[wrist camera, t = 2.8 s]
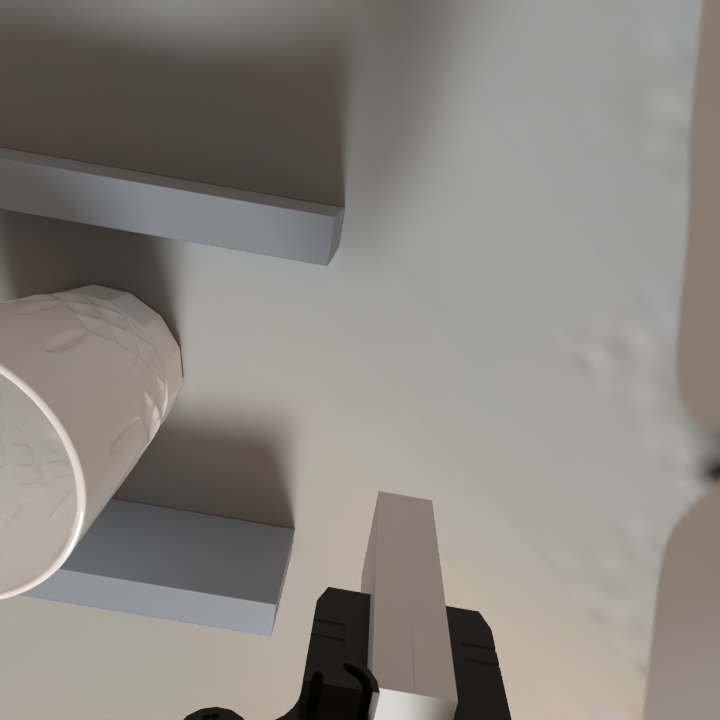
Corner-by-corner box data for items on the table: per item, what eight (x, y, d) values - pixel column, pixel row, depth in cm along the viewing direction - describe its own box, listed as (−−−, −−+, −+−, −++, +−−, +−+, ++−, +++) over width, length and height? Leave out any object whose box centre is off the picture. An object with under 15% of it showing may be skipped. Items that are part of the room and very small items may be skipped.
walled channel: (-52, 499, 27) (-143, 568, 23) (-70, 134, 22) (-192, 124, 18) (290, 556, 28) (271, 636, 23) (344, 208, 23) (335, 217, 18)
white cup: (234, 350, 25) (141, 462, 15) (134, 479, 27) (-4, 649, 17) (73, 229, 23) (-140, 268, 14) (-20, 374, 25) (-261, 494, 16)
